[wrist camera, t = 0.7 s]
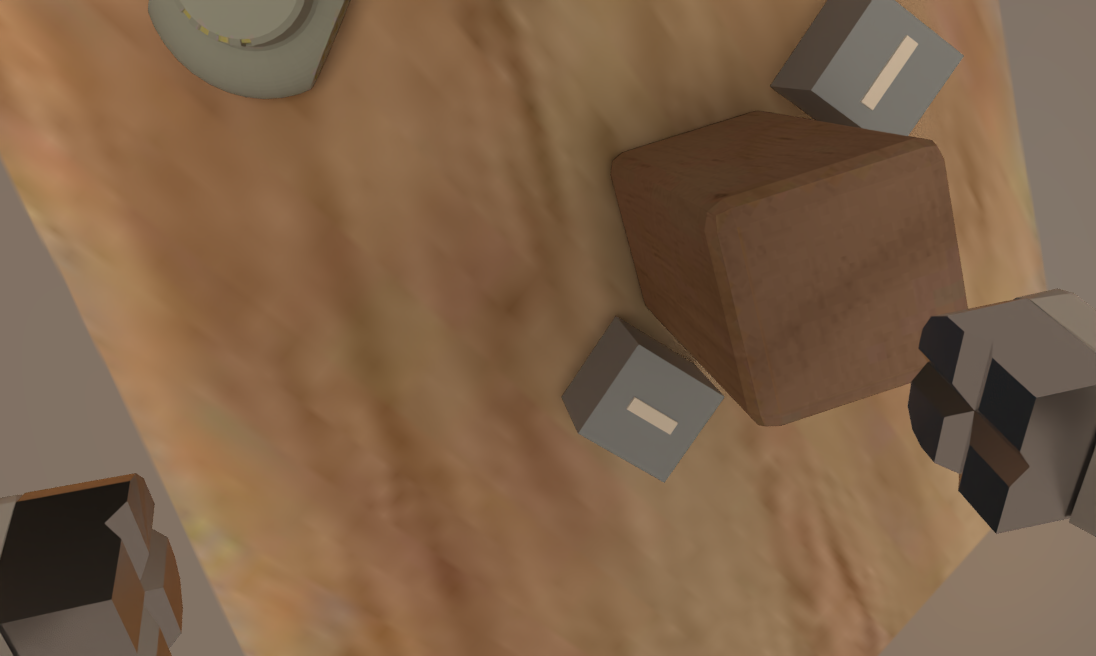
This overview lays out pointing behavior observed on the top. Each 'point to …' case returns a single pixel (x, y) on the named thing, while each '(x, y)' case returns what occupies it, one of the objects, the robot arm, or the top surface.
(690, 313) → the wooden block
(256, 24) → the air freshener
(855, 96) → the cube one
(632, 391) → the cube seven
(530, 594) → the top surface
